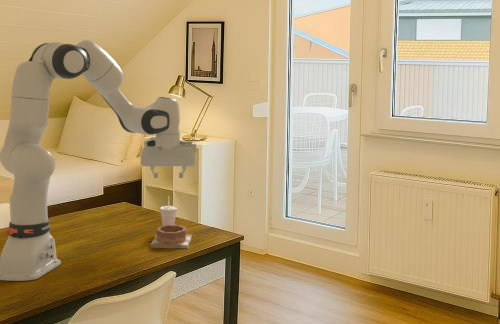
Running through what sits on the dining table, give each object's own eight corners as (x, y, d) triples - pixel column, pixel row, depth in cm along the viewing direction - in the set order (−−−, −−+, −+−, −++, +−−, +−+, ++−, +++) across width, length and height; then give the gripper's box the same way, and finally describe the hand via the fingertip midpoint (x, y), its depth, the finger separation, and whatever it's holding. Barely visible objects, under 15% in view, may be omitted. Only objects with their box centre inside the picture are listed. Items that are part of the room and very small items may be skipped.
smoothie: (178, 230, 236) (178, 194, 233) (175, 235, 229) (174, 198, 227) (162, 229, 236) (162, 194, 234) (158, 234, 230) (157, 198, 228)
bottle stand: (187, 248, 214) (187, 234, 214) (150, 247, 215) (150, 233, 214) (191, 237, 227) (191, 224, 226) (156, 236, 228) (156, 223, 227)
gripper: (196, 139, 231) (196, 175, 233) (141, 139, 229) (142, 176, 232) (196, 142, 224) (196, 179, 227) (139, 142, 223) (140, 179, 226)
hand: (168, 177), depth 229 cm, fingers open, 8 cm apart
